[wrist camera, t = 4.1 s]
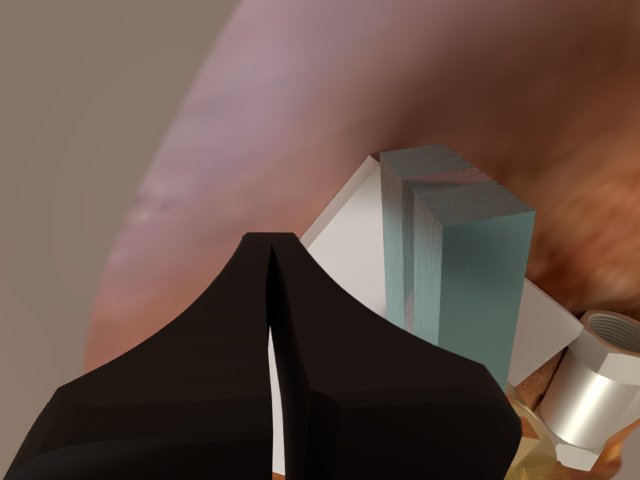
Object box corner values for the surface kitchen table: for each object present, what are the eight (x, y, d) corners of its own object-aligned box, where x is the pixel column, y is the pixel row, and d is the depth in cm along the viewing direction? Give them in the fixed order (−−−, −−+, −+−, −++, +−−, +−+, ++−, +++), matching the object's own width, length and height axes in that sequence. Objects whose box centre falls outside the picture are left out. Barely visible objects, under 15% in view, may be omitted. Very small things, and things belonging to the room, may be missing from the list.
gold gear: (510, 492, 20) (568, 601, 16) (306, 535, 19) (318, 659, 15) (593, 116, 11) (768, 171, 7) (211, 176, 10) (186, 270, 6)
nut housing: (365, 482, 26) (383, 560, 22) (157, 411, 20) (135, 499, 16) (570, 313, 21) (637, 377, 17) (369, 155, 15) (405, 201, 11)
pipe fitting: (667, 299, 22) (563, 309, 21) (746, 351, 19) (629, 367, 17) (606, 400, 26) (514, 414, 24) (663, 458, 23) (561, 478, 21)
